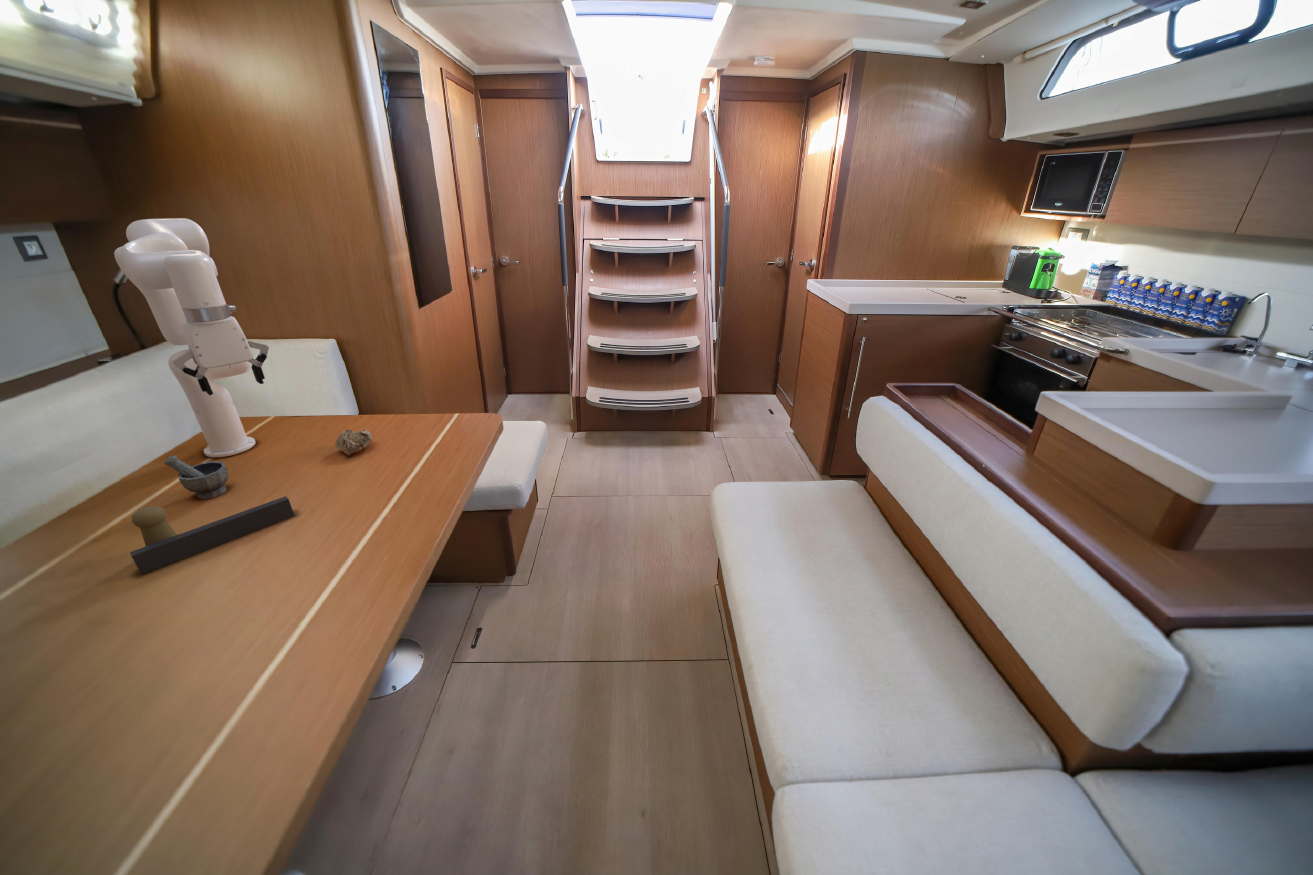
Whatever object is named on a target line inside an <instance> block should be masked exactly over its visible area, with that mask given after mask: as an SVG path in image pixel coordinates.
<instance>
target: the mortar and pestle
mask: <svg viewBox="0 0 1313 875" xmlns="http://www.w3.org/2000/svg"><path fill="white" fill-rule="evenodd" d="M163 463H164V465H166V466H169V467H170V468H171V469H173V470H174V471H176V472H177V477H178V480H179V482H180V484H181V486H182V487H183V488H184V489H186V490H187V491H189V492H191V493H196V497H197V499H201V500H207V499H211V498H215V497H217V496H220V495H222V494H224V493H225V492H226V491H227V487H226V485H225V484H226V483H227V481H228V479H229V470H228V468H227V466H226V464H225V462H224V461H216V460H212V461H207V462H206V461H205V462H200V463H197V464H195V465H190V464H188V463H186V462H184V461H183V460H180V459H179V458H178V456H176V455H171V456H169V457H168V458H166V460H164V462H163Z"/></svg>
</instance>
